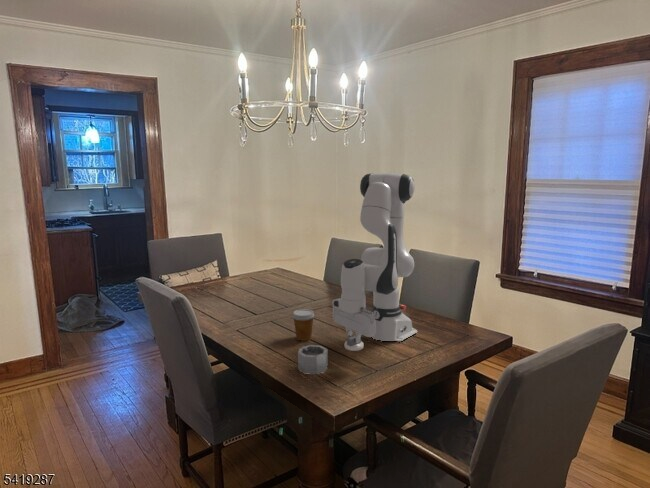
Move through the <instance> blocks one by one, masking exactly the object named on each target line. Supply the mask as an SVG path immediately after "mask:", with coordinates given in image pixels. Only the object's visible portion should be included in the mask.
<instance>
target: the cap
mask: <svg viewBox="0 0 650 488" xmlns="http://www.w3.org/2000/svg"><path fill="white" fill-rule="evenodd" d="M356 335H357V334H354V336H352V337H349V338H348V337H346V340H345V342H344V343H343V344H344V346H343V347H344V349H345V350H348V351H350V352H356V351H357V352H358V351H361V350H363V349H364V342H363V341H362V338H361V337H362V336H361V337H360V342H359V343H356V342H354V337H356Z"/></svg>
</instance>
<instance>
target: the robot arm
mask: <svg viewBox="0 0 650 488" xmlns="http://www.w3.org/2000/svg"><path fill="white" fill-rule="evenodd" d="M359 183H360V184H359V186H360V187H359V190H360V193H361V196H362V197H363V202H362V205H361V210H360V218H359V219H360V220H359V221H360V225H362V227H363V228H364V229H365V230H366V231H367V232H369V233H370V234H372V235H374V236H376V237H377V238H378V239H380V240H381V242H382V244H383V247H379V246H378V247H377V246H376V247H367V248H366V249H365V250H363V252H362V254H361V258H360V259H358V258H350V259H346V260H345V261H344V262H343V263H342V265H341V271H340V287H341V295H340V297H339V298H335V299H333V300H332V303H331V304H332V320H333V322H334V323H335V324H338V326H341V327H344V328H345V332H346V334H347V338H349V337H352V336H355V335H356V337H354V342H356V343H359V342H360V337H362V336H364V337H367V338H371V337H372V338H373V339H372V338H371V339H372V340H374V339H376V340H375V341H377V340H381V341H380V342H382V341H403V340H404V339H406V338H408V337H410V336H412V335H413V334H415V333H417V332H418V330H417V329H416V328H415V327H413V324H412V323H413V321H412V319H410V317H408V316H407V315H405V313H403V312H402V310H403V311H405V310H406V309H407V306H406V305H405V304H400V287H399V278H408V277H409V276H411V275H412V273H413V272H414V269H415V261H414V260H415V259H414V258H413V255H411V254H410V252H409V251H408V249H407V247H406V245H405V241H404V218H405V217H404V216H405V203H406V202H407V201H409V200H410V199H411V198H412V197H413V195H414V193H415V182H414V178H413V177H412V176H411V175H410V174H405V173H403V174H399V173H395V172H394V173H392V172H387V173H386V172H385V173H382V172H381V173H373V172H371V173H367V174H365V175H364V176H362V177H361V180H360V182H359ZM365 291H366V292H367V291H368V292H372V293H373V298H372V299H373V302H372V303H373V304H372V307H371V309H372V311H371V310H370V309H367V306H366V305H367V304H366V303H367V300H366V299H367V297H366V292H365ZM353 332H355V334H354V333H353ZM417 334H418V333H417ZM412 337H413V336H412ZM410 338H411V337H410ZM408 339H409V338H408ZM403 342H404V341H403Z"/></svg>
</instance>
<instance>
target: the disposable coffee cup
mask: <svg viewBox="0 0 650 488" xmlns="http://www.w3.org/2000/svg"><path fill="white" fill-rule="evenodd" d="M315 316H316V315H315V313H314V311H313V310H311V309H308V308H306V309H305V308H304V309H303V308H302V309H297V310H294V311H293V313H292V317H293V321H294V322H293V323H294V331H295V337H296V340H297V341H298V340H301V341H300V342H307V341H306V340H309V341H310V340H312V334H313V333H312V332H313V325H314V318H315Z"/></svg>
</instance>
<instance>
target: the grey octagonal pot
mask: <svg viewBox="0 0 650 488" xmlns="http://www.w3.org/2000/svg"><path fill="white" fill-rule="evenodd" d="M328 351H329V350H328V348H326V347H324V346H322V345H319V344H317V345H316V344H315V345H314V344H308V345H305V346H301V347H300V348H299V349H298V352H297V370H298V369H299V370H301V371H302V372H304V373H310V374H318V373H321V372H324V371H326V370H328V367H329V365H328V364H329V359H328V358H329V355H328ZM327 366H328V367H327ZM326 372H327V371H326Z"/></svg>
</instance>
